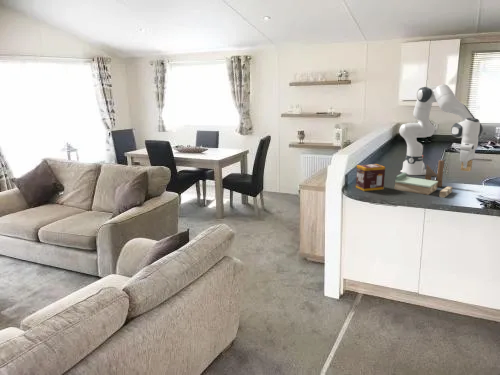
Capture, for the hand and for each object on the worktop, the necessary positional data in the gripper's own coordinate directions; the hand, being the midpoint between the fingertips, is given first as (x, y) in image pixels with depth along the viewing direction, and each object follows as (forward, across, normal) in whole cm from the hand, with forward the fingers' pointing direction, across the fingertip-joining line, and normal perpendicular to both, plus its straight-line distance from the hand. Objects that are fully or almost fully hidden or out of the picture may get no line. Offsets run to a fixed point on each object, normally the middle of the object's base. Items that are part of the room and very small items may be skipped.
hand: (466, 167), depth 242 cm
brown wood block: (+2, 0, 0) cm, 2 cm away
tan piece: (+18, +6, -22) cm, 29 cm away
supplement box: (+18, +22, -52) cm, 59 cm away
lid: (+13, +6, -27) cm, 30 cm away
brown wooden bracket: (+18, -11, -21) cm, 30 cm away
